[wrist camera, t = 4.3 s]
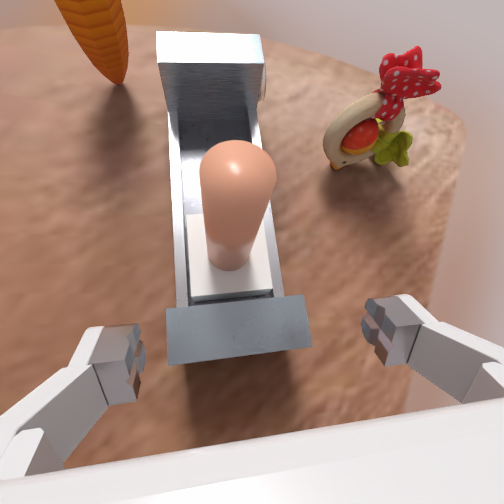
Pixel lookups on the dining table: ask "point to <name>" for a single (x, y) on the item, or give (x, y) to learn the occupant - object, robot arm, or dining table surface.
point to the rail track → (190, 202)
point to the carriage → (231, 223)
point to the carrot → (99, 33)
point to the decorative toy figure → (380, 114)
